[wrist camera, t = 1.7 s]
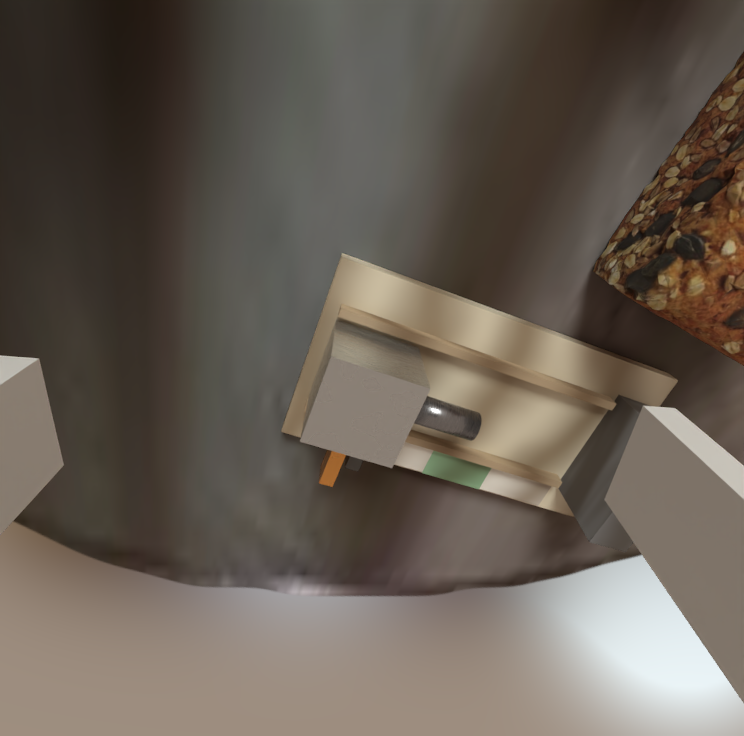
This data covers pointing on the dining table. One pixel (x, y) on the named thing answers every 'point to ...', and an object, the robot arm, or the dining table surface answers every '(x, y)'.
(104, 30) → the dining table surface
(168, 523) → the dining table surface
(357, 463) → the dark grey square block
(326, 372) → the cube with metal rod
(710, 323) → the bread
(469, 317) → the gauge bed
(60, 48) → the dining table surface
